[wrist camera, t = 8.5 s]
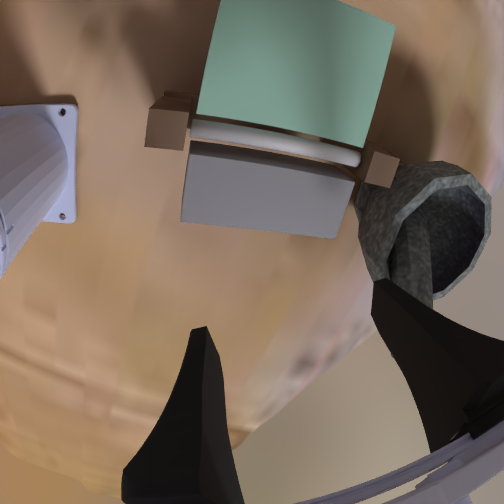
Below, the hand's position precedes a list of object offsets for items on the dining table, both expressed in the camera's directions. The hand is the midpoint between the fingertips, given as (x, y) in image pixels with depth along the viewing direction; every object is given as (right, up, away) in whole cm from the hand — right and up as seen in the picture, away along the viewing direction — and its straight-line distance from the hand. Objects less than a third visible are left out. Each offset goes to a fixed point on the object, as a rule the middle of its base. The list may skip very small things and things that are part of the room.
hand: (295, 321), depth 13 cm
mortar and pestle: (+8, +7, +10) cm, 15 cm away
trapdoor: (-1, +10, +2) cm, 10 cm away
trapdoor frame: (-1, +11, +5) cm, 12 cm away
